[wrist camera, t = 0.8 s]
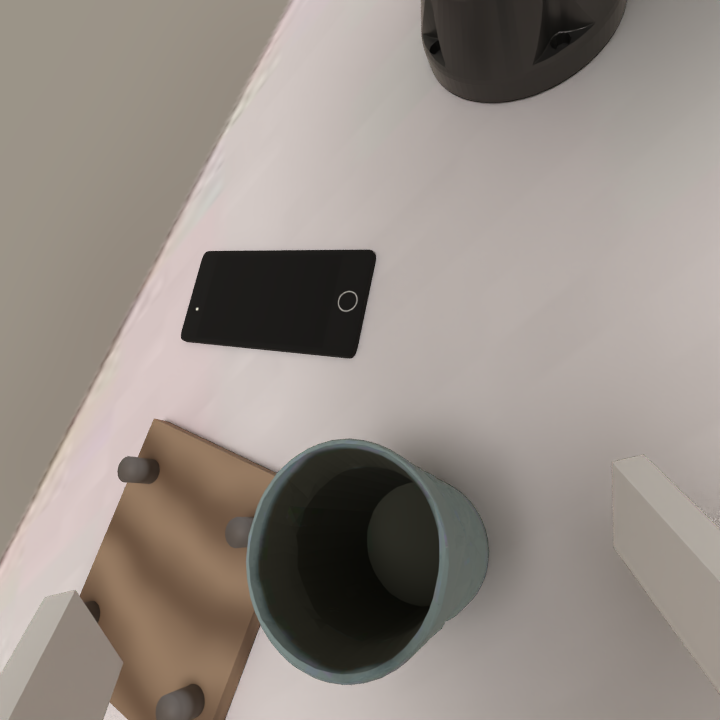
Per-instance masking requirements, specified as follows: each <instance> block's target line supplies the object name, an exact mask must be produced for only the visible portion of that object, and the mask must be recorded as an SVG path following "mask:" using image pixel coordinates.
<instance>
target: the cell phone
mask: <svg viewBox="0 0 720 720" xmlns="http://www.w3.org/2000/svg"><path fill="white" fill-rule="evenodd" d="M375 261H376V255H375V253H374V252H373V251H372V250H281V251H208V252H206V253H205V254H204V256H203V258H202V261H201V265H200V268H199V272H198V275H197V279H196V282H195V286H194V289H193V293H192V296H191V300H190V303H189V307H188V311H187V314H186V318H185V321H184V325H183V328H182V332H181V339H182V340H184V341H186V342H192V343H202V344H212V345H222V346H232V347H242V348H251V349H261V350H271V351H281V352H291V353H301V354H311V355H321V356H331V357H340V358H353V357H354V356H355V354H356V351H357V348H358V343H359V338H360V333H361V329H362V324H363V319H364V314H365V310H366V305H367V300H368V295H369V290H370V286H371V281H372V276H373V271H374V267H375Z"/></svg>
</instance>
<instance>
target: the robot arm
mask: <svg viewBox="0 0 720 720" xmlns="http://www.w3.org/2000/svg"><path fill="white" fill-rule="evenodd" d="M626 2H627V0H421V32H422V41H423V46H424V50H425V53H426V55H427V58H428V60H429V63H430V66H431V68H432V71H433V73H434V75H435V77H436V78H437V80H438V81H439V82H440V83H441V84H442V85H443V86H444V87H445V88H446V89H447V90H449V91H450V92H452V93H453V94H455V95H457V96H460V97H462V98H465V99H469V100H473V101H479V102H504V101H511V100H516V99H521V98H524V97H528V96H531V95H534V94H537V93H539V92H542V91H544V90H546V89H549V88H551V87H553V86H555V85H557V84H559V83H560V82H562V81H564V80H565V79H567V78H569V77H570V76H572V75H573V74H575V73H576V72H577V71H579V70H580V69H581V68H582V67H584V66H585V65H586V64H587V63H588V62H590V61H591V60H592V59H593V58H594V57H595V56H596V55H597V54H598V53H599V52H600V51H601V49H602V48H603V47H604V46H605V45H606V43H607V42H608V41H609V39H610V38H611V37H612V35H613V34H614V32H615V30H616V28H617V27H618V25H619V23H620V21H621V18H622V16H623V13H624V10H625V7H626ZM612 500H613V547H614V549H615V550H616V551H617V553H618V554H619V556H620V557H621V558H622V560H623V561H624V562H625V564H626V565H627V567H628V568H629V569H630V571H631V572H632V574H633V575H634V576H635V578H636V579H637V581H638V582H639V583H640V585H641V586H642V587H643V589H644V590H645V592H646V593H647V594H648V596H649V597H650V599H651V600H652V601H653V603H654V604H655V605H656V607H657V608H658V610H659V611H660V612H661V614H662V615H663V617H664V618H665V619H666V621H667V622H668V623H669V625H670V626H671V628H672V629H673V630H674V632H675V633H676V635H677V636H678V637H679V639H680V640H681V642H682V643H683V644H684V646H685V647H686V648H687V650H688V651H689V653H690V654H691V655H692V657H693V658H694V660H695V661H696V662H697V664H698V665H699V666H700V668H701V669H702V671H703V672H704V673H705V675H706V676H707V678H708V679H709V680H710V682H711V683H712V684H713V686H714V687H715V689H716V690H717V691H718V693H719V694H720V529H719V528H718V527H717V526H716V525H715V524H714V523H713V522H712V521H711V520H710V519H709V518H708V517H707V516H706V515H705V514H704V513H703V512H702V511H701V510H700V509H699V508H698V507H697V506H696V505H695V504H694V503H693V502H692V501H691V500H690V499H689V498H688V497H687V496H686V495H685V494H684V493H683V492H682V491H681V490H680V489H679V488H678V487H676V486H675V485H674V484H673V483H672V482H671V481H670V480H669V479H668V478H667V477H666V476H665V475H664V474H663V473H662V472H661V471H660V470H659V469H658V468H657V467H656V466H655V465H654V464H653V463H652V462H651V461H650V460H649V459H648V458H647V457H646V456H645V455H644V454H643V455H639V456H635V457H630V458H626V459H622V460H618V461H614V462H612ZM122 665H123V661H122V660H121V658H120V657H119V655H118V654H117V652H116V651H115V649H114V648H113V646H112V644H111V643H110V641H109V640H108V638H107V637H106V635H105V634H104V632H103V631H102V629H101V628H100V626H99V625H98V623H97V622H96V620H95V619H94V617H93V616H92V614H91V613H90V611H89V610H88V608H87V607H86V605H85V604H84V602H83V601H82V599H81V597H80V596H79V594H78V593H77V591H76V590H73V591H69V592H65V593H61V594H57V595H52V596H48V597H45V598H44V600H43V601H42V603H41V605H40V607H39V608H38V610H37V612H36V614H35V615H34V617H33V619H32V621H31V622H30V624H29V626H28V627H27V629H26V631H25V633H24V634H23V636H22V638H21V640H20V641H19V643H18V645H17V647H16V648H15V650H14V652H13V654H12V655H11V657H10V659H9V660H8V662H7V664H6V666H5V667H4V669H3V671H2V673H1V674H0V720H103V719H104V716H105V713H106V710H107V707H108V705H109V702H110V699H111V696H112V693H113V691H114V688H115V685H116V682H117V679H118V677H119V674H120V671H121V668H122Z"/></svg>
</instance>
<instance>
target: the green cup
mask: <svg viewBox="0 0 720 720" xmlns="http://www.w3.org/2000/svg"><path fill="white" fill-rule="evenodd" d="M488 554H489V550H488V541H487V535H486V531H485V528H484V525H483V522H482V520H481V518H480V516H479V514H478V512H477V511H476V509H475V508H474V506H473V505H472V504H471V502H470V501H469V500H468V499H467V498H466V497H465V496H464V495H463V494H462V493H461V492H459V491H458V490H457V489H455V488H454V487H452V486H450V485H448V484H447V483H445V482H443V481H441V480H438V479H436V477H435V476H433V475H431V474H429V473H428V472H425V471H423V470H421V469H420V468H419V467H416V466H415V465H413V464H412V463H410V462H409V461H407V460H406V459H404V458H403V457H401V456H400V455H398V454H396V453H395V452H393V451H391V450H390V449H388V448H385V447H383V446H381V445H378V444H375V443H372V442H368V441H364V440H357V439H340V440H331V441H328V442H325V443H321V444H318V445H316V446H314V447H311V448H309V449H307V450H305V451H304V452H302V453H300V454H299V455H297V456H296V457H294V458H293V459H292V460H291V461H289V462H288V463H287V464H286V465H285V466H284V467H283V468H282V469H281V470H280V471H279V472H278V473H277V474H276V475H275V477H274V478H273V480H272V481H271V482H270V484H269V485H268V487H267V488H266V490H265V491H264V493H263V495H262V497H261V499H260V502H259V504H258V506H257V509H256V512H255V516H254V519H253V522H252V526H251V529H250V532H249V536H248V545H247V555H246V570H247V582H248V587H249V593H250V598H251V601H252V604H253V608H254V611H255V613H256V615H257V618H258V620H259V622H260V624H261V627H262V629H263V630H264V632H265V634H266V635H267V637H268V639H269V640H270V641H271V643H272V644H273V645H274V647H275V648H276V649H277V650H278V651H279V653H280V654H281V655H282V656H283V657H284V658H285V659H286V660H287V661H288V662H290V663H291V664H292V665H293V666H295V667H296V668H298V669H299V670H301V671H303V672H305V673H306V674H308V675H310V676H312V677H314V678H316V679H319V680H322V681H325V682H329V683H335V684H341V685H353V684H362V683H367V682H370V681H373V680H376V679H380V678H382V677H384V676H386V675H388V674H389V673H391V672H393V671H395V670H397V669H398V668H399V667H401V666H402V665H403V664H404V663H406V662H407V661H408V660H409V659H410V658H411V657H412V656H413V655H414V654H415V653H416V652H417V651H418V650H419V649H420V648H421V647H422V646H423V645H424V644H425V643H426V642H427V641H428V640H429V639H430V638H431V637H432V636H433V635H435V634H436V633H437V632H438V631H440V630H441V629H442V627H443V625H444V624H445V622H446V621H448V620H450V619H451V618H453V617H454V616H456V615H457V614H458V613H459V612H460V611H461V610H463V608H464V607H465V606H466V605H467V604H468V603H469V602H470V601H471V600H472V599H473V598H474V597H475V595H476V594H477V592H478V590H479V589H480V587H481V585H482V583H483V580H484V578H485V575H486V570H487V566H488Z"/></svg>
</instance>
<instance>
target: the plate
mask: <svg viewBox="0 0 720 720" xmlns="http://www.w3.org/2000/svg"><path fill="white" fill-rule="evenodd" d="M276 474H277V473H275V472H273V471H271V470H269V469H267V468H265V467H262V466H260V465H258V464H256V463H254V462H252V461H250V460H248V459H246V458H243V457H241V456H239V455H237V454H235V453H233V452H231V451H229V450H226V449H224V448H222V447H220V446H218V445H216V444H214V443H212V442H210V441H207V440H205V439H203V438H201V437H199V436H197V435H195V434H193V433H190V432H188V431H186V430H184V429H182V428H180V427H178V426H176V425H174V424H171V423H169V422H167V421H163V420H158V419H154V420H153V422H152V425H151V427H150V429H149V432H148V434H147V437H146V439H145V441H144V444H143V446H142V449H141V451H140V453H139V456H138V457H130V456H128V457H125V458H124V459H123V460H122V461H121V462H120V464H119V467H118V477H119V479H120V480H121V481H122V482H127V484H126V487H125V489H124V492H123V494H122V496H121V499H120V501H119V503H118V506H117V508H116V511H115V513H114V515H113V518H112V520H111V523H110V525H109V527H108V530H107V532H106V534H105V537H104V539H103V542H102V544H101V546H100V549H99V551H98V554H97V556H96V558H95V561H94V563H93V565H92V568H91V570H90V573H89V575H88V577H87V580H86V582H85V585H84V587H83V589H82V592H81V594H80V597H81V599H82V601H83V602H84V604H85V605H86V607H87V608H88V610H89V611H90V613H91V614H92V616H93V617H94V619H95V620H96V622H97V623H98V625H99V626H100V628H101V629H102V631H103V632H104V634H105V635H106V637H107V638H108V640H109V641H110V643H111V644H112V646H113V648H114V649H115V651H116V652H117V654H118V655H119V657H120V658H121V660H122V661H123V665H122V668H121V671H120V674H119V677H118V679H117V682H116V685H115V688H114V691H113V693H112V696H111V699H110V703H111V704H112V705H113V706H114V707H115V708H116V709H117V710H118V711H120V712H121V713H122V714H123V715H124V716H125V717H126V718H127V719H128V720H225V717H226V715H227V712H228V709H229V707H230V704H231V701H232V699H233V696H234V693H235V691H236V688H237V685H238V683H239V680H240V677H241V675H242V672H243V669H244V666H245V664H246V661H247V658H248V656H249V653H250V650H251V648H252V645H253V642H254V640H255V637H256V634H257V632H258V629H259V626H260V622H259V620H258V618H257V615H256V613H255V611H254V608H253V604H252V601H251V598H250V593H249V587H248V582H247V570H246V555H247V545H248V536H249V532H250V529H251V526H252V522H253V519H254V516H255V512H256V509H257V506H258V504H259V502H260V499H261V497H262V495H263V493H264V491H265V490H266V488H267V487H268V485H269V484H270V482H271V481H272V480H273V478H274V477H275V475H276Z"/></svg>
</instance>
